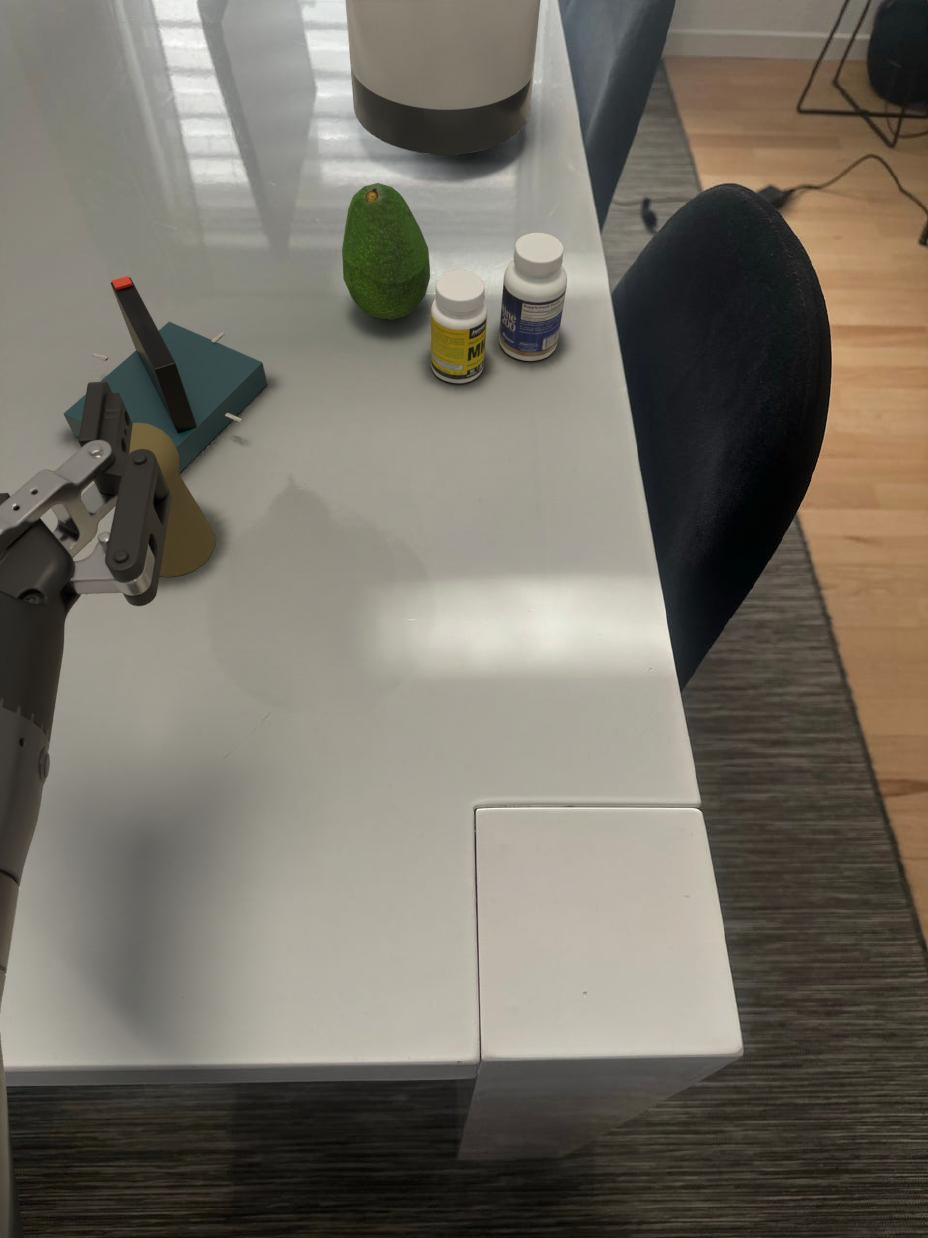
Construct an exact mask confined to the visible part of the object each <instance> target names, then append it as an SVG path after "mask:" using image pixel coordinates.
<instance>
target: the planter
mask: <svg viewBox="0 0 928 1238" xmlns="http://www.w3.org/2000/svg"><path fill="white" fill-rule="evenodd" d="M344 1H345V12H346V13H345V14H346V15H345V16H346V27H347V39H348V52H349V63H350V64H349V65H350V77H351V79H350V80H351V89H352V102H353V103H352V104H353V111H354V114H355V117H356V119H357V121H358V122H359V124H360V125H361V126H362V127H363V128H364V130H365V131H367V132H368V133H369V134H370V135H372V137H375V138H376V139H378V140H380V141H381V142H383V143H385V144H387V145H390V146H393V147H395V148H399V149H402V150H405V151H408V152H409V151H410V152H412V153H413V152H414V153H420V154H425V155H431V156H457V155H464V154H465V155H466V154H473V153H478V152H483V151H486V150H489V149H492V148H495V147H498V146H500V145H502V144H505V143H506V142H508V141H509V140H511V139H513V138H514V137H516V136H517V135H519V133H520V132H521V131H522V130H523V129H524V128H525V126H526V125H527V123H528V120H529V118H530V114H531V107H532V96H533V95H532V94H533V83H534V76H535V75H534V73H535V64H536V53H537V44H538V43H537V42H538V30H539V20H540V19H539V18H540V10H541V0H344Z"/></svg>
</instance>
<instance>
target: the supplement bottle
mask: <svg viewBox="0 0 928 1238" xmlns="http://www.w3.org/2000/svg"><path fill="white" fill-rule="evenodd" d="M485 288H486V287H485V282H484V280H483V278H482V277H481V276H480V275H478V274H477V273H475V272H472V271H469V270H466V269H465V270H463V269H455V270H454V269H453V270H449V271H446V272H444V273H442V274H441V275H440V276H439V277H438V278H437V280H436V282H435V294H434V297H435V298H434V300H433V302H432V304H431V307H430V367H431V370H432V372H433V373H434V375H435V376H436V377H437V378H439V379H440V380H442V381H445V382H448V383H452V384H466V383H469V382H472V381H473V380H475V379H477V378H478V377H479V376H480V375H481V374H482V372H483V369H484V365H485V354H486V353H485V352H486V341H487V340H486V339H487V326H488V325H487V323H488V305H487V303H486V301H485V300H486V299H485V298H486V295H485V293H486V292H485V290H486V289H485Z"/></svg>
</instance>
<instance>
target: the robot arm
mask: <svg viewBox="0 0 928 1238" xmlns="http://www.w3.org/2000/svg"><path fill="white" fill-rule="evenodd" d="M85 394H86V397H85V403H84V410H83V416H82V422H81V428H80V434H79V438H78V444H79V445H80V448H79V449H78V450H77V451H76V452H75V453H73V454H72V455H71V457H69V458H68V459H66V460H65V461H64V462H63V463H62V464H61V465H60V466H58V468H57V469H55V470H50V469H47V468H46V469H45V468H44V469H41V470H40V471H38V472H36V474H34V476H32V477H31V478H30V479H29V480H28V481H27V482H25V483H24V484H22V486H20V487H19V488H18V489H17V490H16V491H15V492H14V493H13V494H11V495H10V494H9V492H0V1012H1V1009H2V1002H3V996H4V990H5V984H6V977H7V976H6V975H7V973H8V966H9V959H10V953H11V946H12V940H13V933H14V927H15V920H16V913H17V907H18V901H19V893H20V889H19V887H20V885H21V883H22V878H23V873H24V868H25V865H26V861H27V858H28V854H29V851H30V847H31V844H32V842H33V839H34V835H35V832H36V828H37V824H38V820H39V817H40V810H41V805H42V799H43V797H42V796H43V790H44V785H45V783H46V781H47V779H48V776H49V774H50V767H51V766H50V765H51V759H50V758H51V757H50V754H49V750H50V745H51V737H52V731H53V724H54V716H55V709H56V704H57V703H56V702H57V697H58V696H57V695H58V689H59V683H60V677H61V669H62V663H63V656H64V650H65V649H64V648H65V629H66V628H65V627H66V626H65V625H66V619H67V617H68V615H69V613H70V611H71V610H72V608H73V607H74V605H75V604H76V603H77V602H78V601H79V599H80V597H81V596H82V595H97V594H98V595H99V594H122V595H123V596H124V598H125V600H126V602H127V603H128V604H129V605H131V606H133V607H144V606H147V605H149V604H150V603H152V602H153V601H154V600H155V598H156V597H157V594H158V589H159V584H160V583H159V582H160V577H161V576H160V570H161V564H162V557H163V551H164V545H165V539H166V532H167V526H168V520H169V513H170V507H171V501H172V495H171V493H170V490H169V488H168V485H167V483H166V480H165V478H164V476H163V473H162V471H161V468H160V466H159V464H158V461H157V459H156V456H155V454H154V453H153V452H152V451H150V450H147V449H138V450H135V451H133V452H131V453H130V454H129V452H130V443H131V441H130V440H131V433H132V426H133V424H132V422H131V419H130V417H129V414H128V412H127V410H126V407H125V405H124V403H123V400H122V398H121V396H120V394H119V393H112V391H111V389H110V386H109V384H108V383H107V382H106V381H103V382H100V381H91V382H90V381H89V382H87V385H86V392H85ZM92 482H93V484H92ZM91 484H92V485H91ZM89 485H91V486H90V487H88V486H89ZM87 487H88V489H87V490H85V489H86V488H87ZM84 490H85V492H84V493H83V491H84ZM50 509H51V510H52V512H53V514H54V515H55V517H56V519H57V524H56V527H55V529H54V530H53V531H52V530H51V529H50V528H49V526H48V525H47V524H46V522H44V520H43V519H42V518H41V517H43V515H45V514H46V513H47V512H48V511H49V510H50ZM112 510H114V513H113V517H112V522H111V527H110V532H109V531H104V532H101V533H99V534H98V535H97V533H98V529H99V524H100V522H101V520H103V519H104V518H105V517H106V516H107V515H108V514H109V513H110V512H111V511H112ZM96 536H97V543H96V544H95V546H94V548H93V551H92V552H91V553H90V554H89V555H88V556H87V557H85V558H83V559H80V560H74V558H75V557H76V556H77V555H78V554H79V553H81V551H82V550H83V549H84V548H85V547H86V546H87V545H88V544H90V543H91V542H92V541H93V540H94V539H95V537H96ZM5 1073H6V1072H5V1065H4V1057H3V1046H2V1038H1V1033H0V1238H25V1234H24V1227H23V1226H24V1225H23V1220H22V1213H21V1206H20V1198H19V1191H18V1185H17V1178H16V1170H15V1169H16V1168H15V1160H14V1152H13V1143H12V1136H11V1125H10V1114H9V1103H8V1094H7V1083H6V1082H7V1081H6V1074H5Z"/></svg>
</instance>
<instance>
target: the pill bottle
mask: <svg viewBox="0 0 928 1238" xmlns="http://www.w3.org/2000/svg"><path fill="white" fill-rule="evenodd" d="M563 262H564V245H563V243H562V242H561V240H560V239H558V238H557V237H555V235H551V234H548V233H543V232H531V233H527V234H524V235H522V236H521V237H519V238H518V239H517V240H516V242H515V245H514V252H513V260H511V261H510V262H509V263H508V265H507V266H506V268H505V270H504V274H503V280H502V281H503V284H502V293H501V294H502V295H501V305H500V320H499V335H498V336H499V337H498V339H499V344H500V346H501V348H502V350H503V351H504V352H505V354H507V355H508V356H510V357H511V358H514V359H516V360H520V361H526V362H533V361H534V362H535V361H540V360H543V359H545V358H547V357H549V356H550V355H552V354H553V353H554V351H556V348H557V346H558V342H559V337H560V330H561V324H562V318H563V311H564V304H565V299H566V294H567V293H566V292H567V287H568V286H567V285H568V276H567V272H566V270H565V267H564V266H563Z"/></svg>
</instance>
